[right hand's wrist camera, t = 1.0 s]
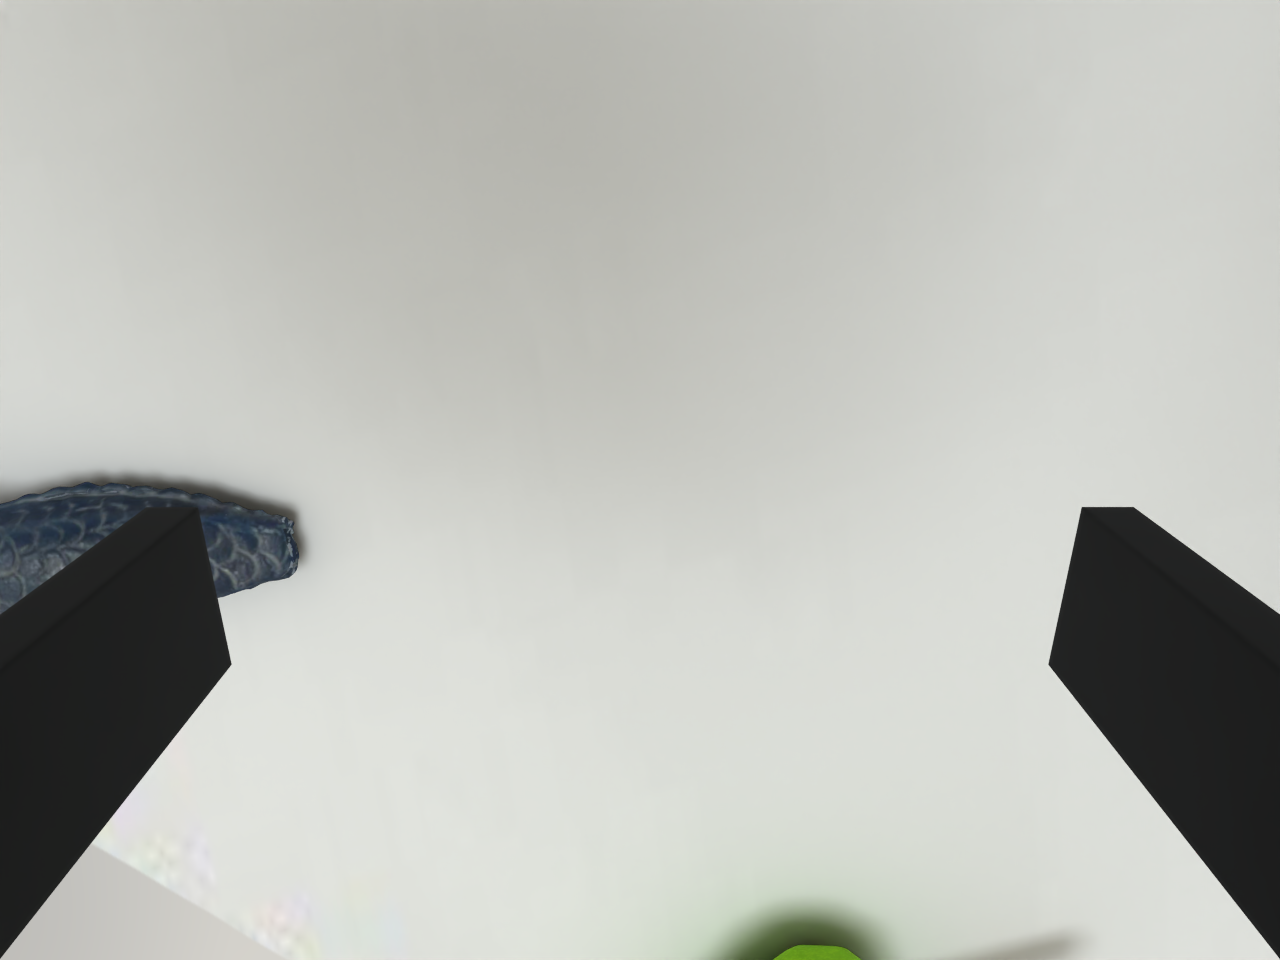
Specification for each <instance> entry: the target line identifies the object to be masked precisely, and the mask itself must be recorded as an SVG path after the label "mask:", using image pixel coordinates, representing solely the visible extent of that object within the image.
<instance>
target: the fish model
mask: <svg viewBox="0 0 1280 960" xmlns="http://www.w3.org/2000/svg"><path fill="white" fill-rule="evenodd" d="M146 507H198V509H199V514H200V519H201V523H202V528H203V533H204V537H205V542H206V547H207V551H208V556H209V561H210V566H211V570H212V575H213V580H214V584H215V589H216V594H217V598H219V597H224V596H227V595H230V594H233V593H236V592H239V591H242V590H245V589H252V588H254V587H256V586H258V585H260V584H262V583H265V582H269V581H275V580H281V579H286V578H289V577H290V576H292V575H293V574H294V573H295V571H296V570H297V567H298V558H299V552H298V548H297V544H296V542H295V540H294V538H293V536H292V534H294V532H293V528H292V527H293V525H294V522H293V521H292V520H289V519H287V517H283V516H280V515H269V514H266V513H265V512H264V511H263V510H248V509H245V508H243V507H241V506H239V505H237V504H236V503H233V502H227V503H222V502H220V501H219V500H217V499H215V498H212V497H210V496H207V495H205V494H201V493H197V494H192V495H191V494H189V493H187V492H185V491H182V490H178V489H175V488H168V489H163V490H160V489H155V488H153V487H150V486H136V487H131V486H129V485H125V484H115V483H109V484H106V485H104V486H98V485H95V484H92V483H90V482H84V483H82V484H79V485H77V486H74V487H57V488H53V489H51V490H49V491H47V492H45V493H43V494H27V495H24V496H22V497H20V498H19V499H17V500H14V501H11V502H7V503H2V504H0V614H2V613H3V612H4V611H6V610H7V609H8V608H10V607H11V606H12V605H14V604H15V603H17V602H18V601H19V600H21V599H22V598H23V597H25V596H26V595H27V594H29V593H30V592H32V591H33V590H34V589H36V588H37V587H38V586H40V585H41V584H42V583H44V582H45V581H47V580H48V579H49V578H51V577H52V576H53V575H55V574H56V573H57V572H59V571H60V570H62V569H63V568H64V567H66V566H67V565H68V564H70V563H71V562H72V561H74V560H75V559H77V558H78V557H79V556H81V555H82V554H83V553H85V552H86V551H87V550H89V549H90V548H92V547H93V546H94V545H96V544H97V543H98V542H100V541H101V540H102V539H104V538H105V537H107V536H108V535H109V534H111V533H112V532H113V531H115V530H116V529H117V528H119V527H120V526H122V525H123V524H124V523H126V522H127V521H128V520H130V519H131V518H132V517H134V516H135V515H137V514H138V513H139V512H141V511H142V510H143V509H145V508H146Z"/></svg>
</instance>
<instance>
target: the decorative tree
mask: <svg viewBox="0 0 1280 960" xmlns="http://www.w3.org/2000/svg"><path fill="white" fill-rule="evenodd" d="M773 960H861V959H860V958H859V957H857V956H856V955H854V954H853V953H852V952H850V951H849V950H848V949H846V948H843V947H838V946H821V945H796V946H794V947H792V948H790V949H788V950H786V951H784V952H783V953H782V954H780V955H779V956H777V957H776V958H775V959H773Z"/></svg>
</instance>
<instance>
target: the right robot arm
mask: <svg viewBox="0 0 1280 960" xmlns="http://www.w3.org/2000/svg"><path fill="white" fill-rule="evenodd" d="M231 665H232V664H231V660H230V655H229V650H228V646H227V641H226V636H225V631H224V627H223V622H222V617H221V613H220V608H219V603H218V599H217V594H216V589H215V584H214V580H213V575H212V570H211V566H210V561H209V556H208V551H207V547H206V542H205V537H204V533H203V528H202V523H201V519H200V514H199V509H198V507H146V508H145V509H143V510H142V511H141V512H139V513H138V514H137V515H135V516H134V517H132V518H131V519H130V520H128V521H127V522H126V523H124V524H123V525H122V526H120V527H119V528H117V529H116V530H115V531H113V532H112V533H111V534H109V535H108V536H107V537H105V538H104V539H102V540H101V541H100V542H98V543H97V544H96V545H94V546H93V547H92V548H90V549H89V550H87V551H86V552H85V553H83V554H82V555H81V556H79V557H78V558H77V559H75V560H74V561H72V562H71V563H70V564H68V565H67V566H66V567H64V568H63V569H62V570H60V571H59V572H57V573H56V574H55V575H53V576H52V577H51V578H49V579H48V580H47V581H45V582H44V583H42V584H41V585H40V586H38V587H37V588H36V589H34V590H33V591H32V592H30V593H29V594H27V595H26V596H25V597H23V598H22V599H21V600H19V601H18V602H17V603H15V604H14V605H12V606H11V607H10V608H8V609H7V610H6V611H4V612H3V613H2V614H0V958H1V957H2V956H3V954H4V953H5V952H6V951H7V949H8V948H9V947H10V945H11V944H12V943H13V942H14V940H15V939H16V938H17V937H18V935H19V934H20V933H21V932H22V930H23V929H24V928H25V926H26V925H27V924H28V923H29V921H30V920H31V919H32V918H33V916H34V915H35V914H36V913H37V911H38V910H39V909H40V907H41V906H42V905H43V904H44V902H45V901H46V900H47V898H48V897H49V896H50V895H51V893H52V892H53V891H54V890H55V888H56V887H57V886H58V884H59V883H60V882H61V881H62V879H63V878H64V877H65V876H66V874H67V873H68V872H69V871H70V869H71V868H72V867H73V865H74V864H75V863H76V862H77V860H78V859H79V858H80V857H81V855H82V854H83V853H84V851H85V850H86V849H87V848H88V846H89V845H90V844H91V843H92V841H93V840H94V839H95V837H96V836H97V835H98V834H99V832H100V831H101V830H102V829H103V827H104V826H105V825H106V824H107V822H108V821H109V820H110V818H111V817H112V816H113V815H114V813H115V812H116V811H117V810H118V808H119V807H120V806H121V804H122V803H123V802H124V801H125V799H126V798H127V797H128V796H129V794H130V793H131V792H132V790H133V789H134V788H135V787H136V785H137V784H138V783H139V782H140V780H141V779H142V778H143V776H144V775H145V774H146V773H147V771H148V770H149V769H150V768H151V766H152V765H153V764H154V762H155V761H156V760H157V759H158V757H159V756H160V755H161V754H162V752H163V751H164V750H165V748H166V747H167V746H168V745H169V743H170V742H171V741H172V740H173V738H174V737H175V736H176V735H177V733H178V732H179V731H180V729H181V728H182V727H183V726H184V724H185V723H186V722H187V721H188V719H189V718H190V717H191V715H192V714H193V713H194V712H195V710H196V709H197V708H198V707H199V705H200V704H201V703H202V701H203V700H204V699H205V698H206V696H207V695H208V694H209V693H210V691H211V690H212V689H213V687H214V686H215V685H216V684H217V682H218V681H219V680H220V679H221V677H222V676H223V675H224V673H225V672H226V671H227V670H228V668H229V667H230V666H231ZM1048 665H1049V666H1050V667H1051V668H1052V670H1053V671H1054V672H1055V673H1056V675H1057V676H1058V677H1059V679H1060V680H1061V681H1062V682H1063V684H1064V685H1065V686H1066V687H1067V689H1068V690H1069V691H1070V693H1071V694H1072V695H1073V696H1074V698H1075V699H1076V700H1077V701H1078V703H1079V704H1080V705H1081V707H1082V708H1083V709H1084V710H1085V712H1086V713H1087V714H1088V715H1089V717H1090V718H1091V719H1092V721H1093V722H1094V723H1095V724H1096V726H1097V727H1098V728H1099V729H1100V731H1101V732H1102V733H1103V735H1104V736H1105V737H1106V738H1107V740H1108V741H1109V742H1110V743H1111V745H1112V746H1113V747H1114V748H1115V750H1116V751H1117V752H1118V754H1119V755H1120V756H1121V757H1122V759H1123V760H1124V761H1125V762H1126V764H1127V765H1128V766H1129V768H1130V769H1131V770H1132V771H1133V773H1134V774H1135V775H1136V776H1137V778H1138V779H1139V780H1140V782H1141V783H1142V784H1143V785H1144V787H1145V788H1146V789H1147V790H1148V792H1149V793H1150V794H1151V796H1152V797H1153V798H1154V799H1155V801H1156V802H1157V803H1158V804H1159V806H1160V807H1161V808H1162V810H1163V811H1164V812H1165V813H1166V815H1167V816H1168V817H1169V818H1170V820H1171V821H1172V822H1173V824H1174V825H1175V826H1176V827H1177V829H1178V830H1179V831H1180V832H1181V834H1182V835H1183V836H1184V837H1185V839H1186V840H1187V841H1188V843H1189V844H1190V845H1191V846H1192V848H1193V849H1194V850H1195V851H1196V853H1197V854H1198V855H1199V857H1200V858H1201V859H1202V860H1203V862H1204V863H1205V864H1206V865H1207V867H1208V868H1209V869H1210V871H1211V872H1212V873H1213V874H1214V876H1215V877H1216V878H1217V879H1218V881H1219V882H1220V883H1221V885H1222V886H1223V887H1224V888H1225V890H1226V891H1227V892H1228V893H1229V895H1230V896H1231V897H1232V899H1233V900H1234V901H1235V902H1236V904H1237V905H1238V906H1239V907H1240V909H1241V910H1242V911H1243V913H1244V914H1245V915H1246V916H1247V918H1248V919H1249V920H1250V921H1251V923H1252V924H1253V925H1254V926H1255V928H1256V929H1257V930H1258V932H1259V933H1260V934H1261V935H1262V937H1263V938H1264V939H1265V940H1266V942H1267V943H1268V944H1269V946H1270V947H1271V948H1272V949H1273V951H1274V952H1275V953H1276V954H1277V956H1278V957H1279V958H1280V614H1278V613H1277V612H1276V611H1274V610H1273V609H1272V608H1270V607H1269V606H1267V605H1266V604H1265V603H1263V602H1262V601H1261V600H1259V599H1258V598H1257V597H1255V596H1254V595H1253V594H1251V593H1250V592H1248V591H1247V590H1246V589H1244V588H1243V587H1242V586H1240V585H1239V584H1238V583H1236V582H1235V581H1233V580H1232V579H1231V578H1229V577H1228V576H1227V575H1225V574H1224V573H1223V572H1221V571H1220V570H1218V569H1217V568H1216V567H1214V566H1213V565H1212V564H1210V563H1209V562H1208V561H1206V560H1205V559H1203V558H1202V557H1201V556H1199V555H1198V554H1197V553H1195V552H1194V551H1193V550H1191V549H1190V548H1188V547H1187V546H1186V545H1184V544H1183V543H1182V542H1180V541H1179V540H1178V539H1176V538H1175V537H1173V536H1172V535H1171V534H1169V533H1168V532H1167V531H1165V530H1164V529H1163V528H1161V527H1160V526H1158V525H1157V524H1156V523H1154V522H1153V521H1152V520H1150V519H1149V518H1148V517H1146V516H1145V515H1143V514H1142V513H1141V512H1139V511H1138V510H1137V509H1135V508H1134V507H1082V509H1081V514H1080V519H1079V523H1078V528H1077V533H1076V537H1075V542H1074V547H1073V551H1072V556H1071V561H1070V566H1069V570H1068V575H1067V580H1066V584H1065V589H1064V594H1063V599H1062V603H1061V608H1060V613H1059V617H1058V622H1057V627H1056V631H1055V636H1054V641H1053V646H1052V650H1051V655H1050V660H1049V664H1048Z"/></svg>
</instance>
